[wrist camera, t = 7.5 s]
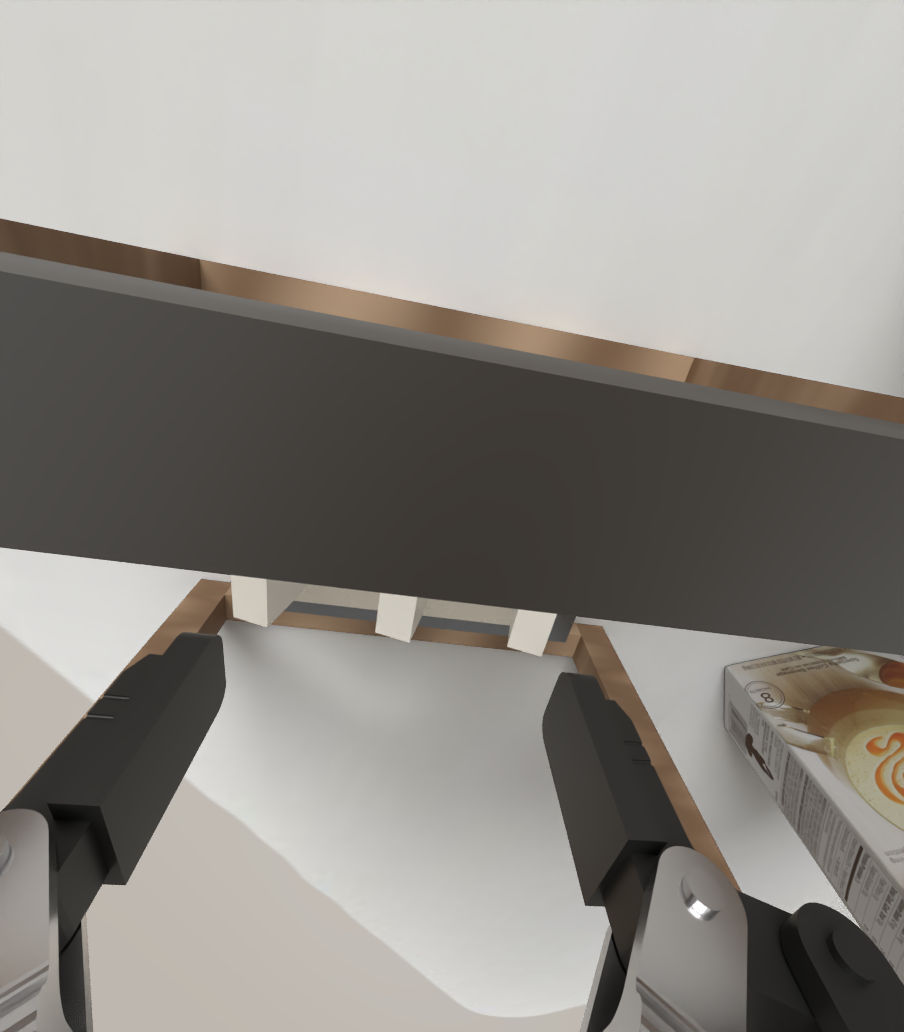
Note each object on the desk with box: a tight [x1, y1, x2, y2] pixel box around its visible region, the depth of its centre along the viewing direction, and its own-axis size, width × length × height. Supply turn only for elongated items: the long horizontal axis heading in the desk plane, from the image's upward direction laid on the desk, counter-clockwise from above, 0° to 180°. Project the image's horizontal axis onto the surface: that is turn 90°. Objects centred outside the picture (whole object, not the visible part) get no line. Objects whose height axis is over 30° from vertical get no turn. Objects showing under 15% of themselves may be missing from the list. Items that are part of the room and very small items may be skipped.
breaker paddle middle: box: [375, 593, 430, 643], centre depth 15 cm, size 1×4×4 cm, turn 169°
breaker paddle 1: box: [231, 575, 309, 628], centre depth 14 cm, size 1×4×4 cm, turn 169°
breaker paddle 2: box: [507, 609, 557, 657], centre depth 15 cm, size 1×4×4 cm, turn 169°
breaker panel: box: [284, 584, 576, 643], centre depth 18 cm, size 14×9×4 cm, turn 80°
